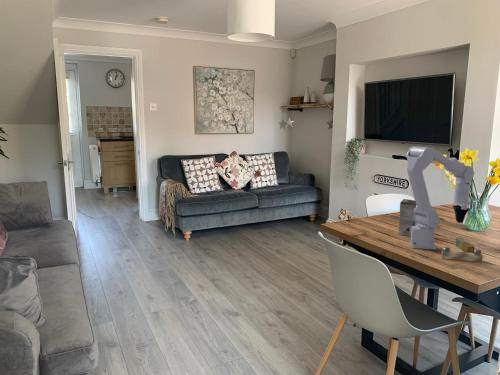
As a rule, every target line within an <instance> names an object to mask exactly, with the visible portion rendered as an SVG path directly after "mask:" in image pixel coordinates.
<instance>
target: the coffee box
mask: <svg viewBox="0 0 500 375" xmlns="http://www.w3.org/2000/svg"><path fill="white" fill-rule="evenodd" d="M416 207H417V206H416V202H415V199H413V200H412V199H406V198H405V199H404V198H402V200H401V201H400V204H399V218H398V219H399V220H398V221H399V222H398V235H399V236H407V237H411V229H412V226H416V222H415V221H414V211H413V210H414V209H415V208H416Z"/></svg>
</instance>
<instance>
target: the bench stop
mask: <svg viewBox="0 0 500 375" xmlns="http://www.w3.org/2000/svg"><path fill="white" fill-rule="evenodd" d="M441 258H442V259H444V260H445V259H446V260H458V261H466V262H467V261H469V262H480V263H482V262H483V255H482V253H481V255H475V254H474V253H467V252H463V251H452V250H450V252H449V253H446V252H443V249H442V250H441Z"/></svg>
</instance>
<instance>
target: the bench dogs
mask: <svg viewBox="0 0 500 375" xmlns="http://www.w3.org/2000/svg"><path fill="white" fill-rule="evenodd" d="M442 250H443V252H446V253H449V252H450V251H451V248H450V247H448V246H447V247H446V246H444V247H443V248H442ZM474 254H475V255H481V254H482V250H480V249H474Z"/></svg>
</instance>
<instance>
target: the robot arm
mask: <svg viewBox="0 0 500 375" xmlns="http://www.w3.org/2000/svg"><path fill="white" fill-rule="evenodd" d="M405 156H406V159H407V167H406V171H407V174H408V179H409V183H410V186H411V190H412V194H413V199H414V200H415V202H416V208H415V209H414V210H413V211H414V221H415V226H412V229H411V236H410V241H409V242H410V246H411V248H412V249H422V250H423V249H424V250H436V249H437V248H436V246H435V233H436V229H437V227H439V225H440V222H441V217H440V215H439V214H438V212H437V209H435V208H434V206H432V205H431V201H430V198H429V193H428V190H427V185H426V181H425V177H424V174H423V172H424V170H426V168H428V167H429V165H431V163H433V162H436V163H437V164H439V165H441V166H442V167H443V169H444V170H446V171H447V172H449V173H451V174H452V175H453V177H454V178H455V184H454V197H453V205H452V208H453V210H454V214H455V216H454V217H455V221H456V222H457V224H463V223H464V221H465V217H466V216H467V213H468V212H469V211H470V208H468V206H470V205H472V202H471V201H470V200H469V199H470V191H471V190H470V189H471V183H472V181H473V178H474V176H475V171H474V168H473V167H472V166H470V165H465V163H464V162H461V161H459V160H458V158H456V157H447V156H445V155H443V154H442V153H440V152H439V151H438V150H437V149H435V148H433V147H425V146H424V147H423V146H416V145H415V146H414V145H413V146H411V147H410V148H409V150H408V151H407V153H406V155H405Z"/></svg>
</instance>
